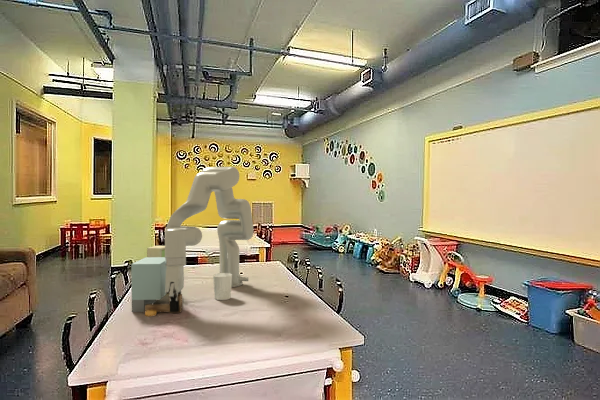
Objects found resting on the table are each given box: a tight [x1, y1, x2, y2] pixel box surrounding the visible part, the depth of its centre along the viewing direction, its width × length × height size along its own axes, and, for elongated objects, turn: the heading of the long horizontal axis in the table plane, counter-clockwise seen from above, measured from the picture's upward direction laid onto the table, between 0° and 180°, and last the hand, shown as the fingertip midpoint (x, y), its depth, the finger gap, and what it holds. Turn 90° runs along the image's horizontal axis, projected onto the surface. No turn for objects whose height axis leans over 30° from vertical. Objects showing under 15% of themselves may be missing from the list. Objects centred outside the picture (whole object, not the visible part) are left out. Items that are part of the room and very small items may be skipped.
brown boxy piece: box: [144, 293, 183, 314], centre depth 150 cm, size 13×4×6 cm, turn 93°
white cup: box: [212, 272, 232, 301], centre depth 170 cm, size 8×8×10 cm
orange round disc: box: [144, 310, 158, 317], centre depth 146 cm, size 4×4×2 cm
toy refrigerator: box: [146, 245, 165, 257], centre depth 177 cm, size 8×7×21 cm
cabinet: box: [130, 256, 167, 313], centre depth 158 cm, size 11×16×18 cm
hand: (175, 309), depth 150 cm, fingers closed on brown boxy piece, 3 cm apart
